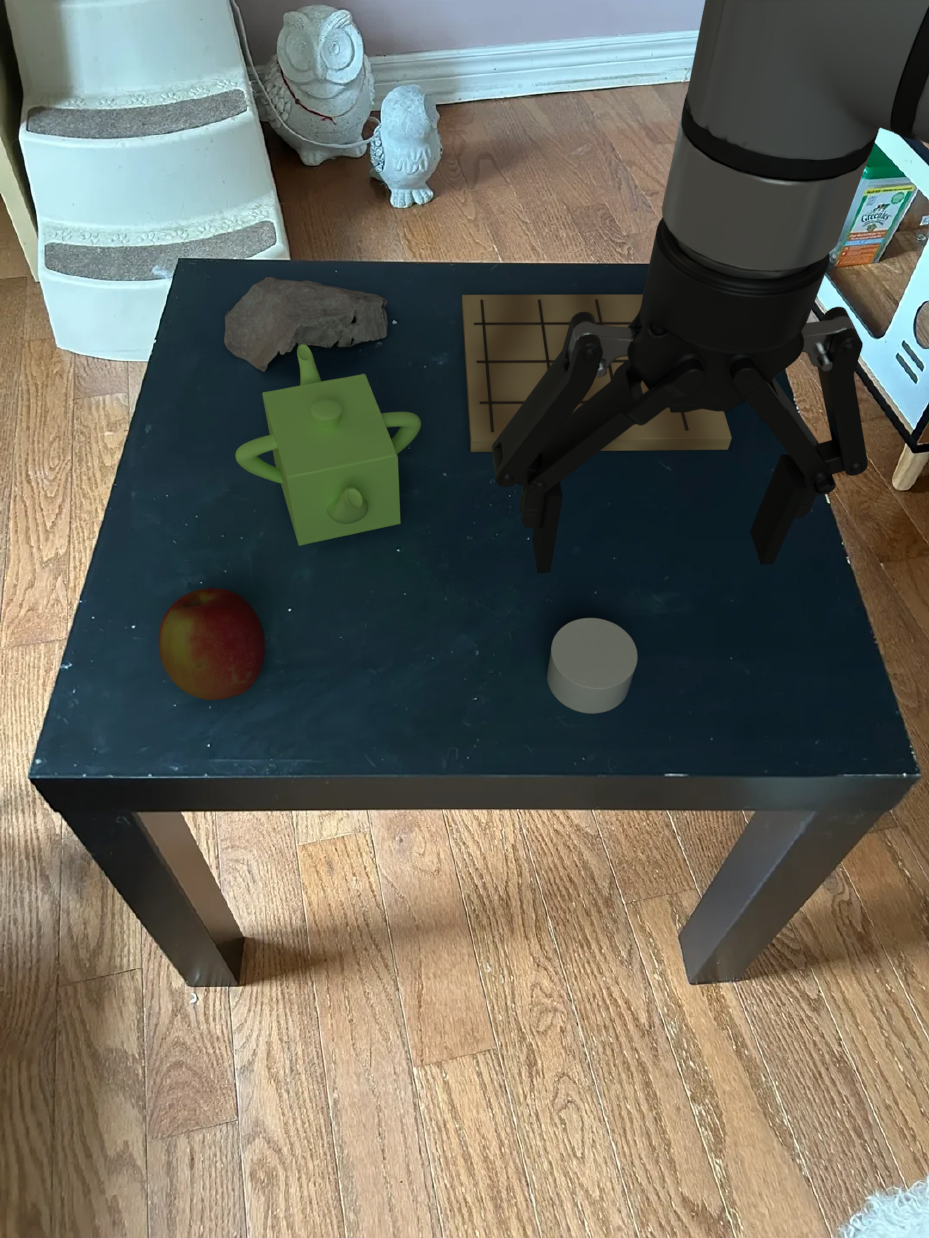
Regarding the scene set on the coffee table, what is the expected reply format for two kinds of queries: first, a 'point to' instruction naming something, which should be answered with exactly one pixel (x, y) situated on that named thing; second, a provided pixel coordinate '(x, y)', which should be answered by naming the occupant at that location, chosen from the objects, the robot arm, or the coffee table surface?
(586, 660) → the gray cylinder
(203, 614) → the apple
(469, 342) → the board
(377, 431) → the teapot
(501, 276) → the coffee table surface
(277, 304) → the stone
